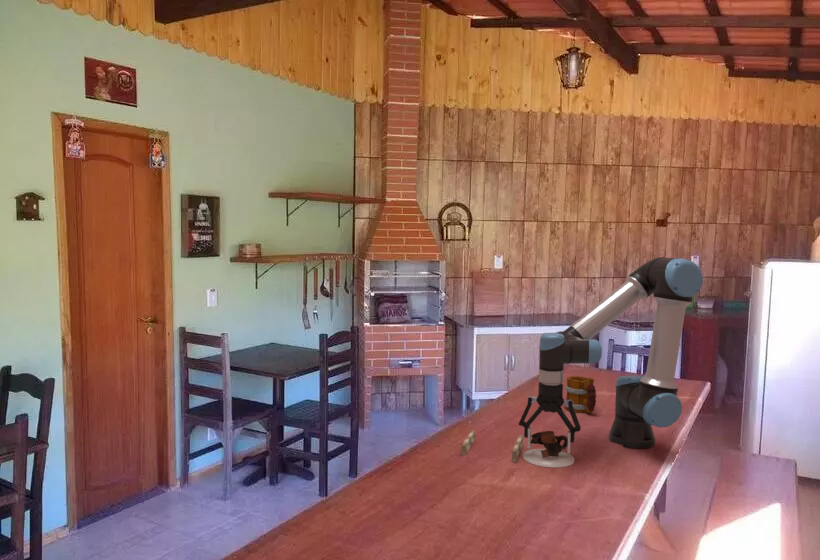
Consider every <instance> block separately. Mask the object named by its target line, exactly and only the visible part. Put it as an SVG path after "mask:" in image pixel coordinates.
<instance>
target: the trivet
mask: <svg viewBox="0 0 820 560" xmlns="http://www.w3.org/2000/svg"><path fill="white" fill-rule="evenodd" d="M545 449H546V448H534V449H528V450H527V451H525V452H523V454H522V458H523V460H524V461H525V462H527V463H529V464H531V465H534V466H537V467H543V468H553V469H558V468H566V467H570V466H571V465H574V463H575V457H573V456H572V455H571V453H570V454H569V453H567V452H565V451H563V450H562V451H561V453H560V452H559V456H554V457H553V456H549V457H542V453H541V450H545Z"/></svg>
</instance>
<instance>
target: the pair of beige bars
mask: <svg viewBox="0 0 820 560" xmlns="http://www.w3.org/2000/svg"><path fill="white" fill-rule="evenodd" d="M523 437H524V436H523V435H518V437H517V439H516V442H515V444H514V447H513V448H512V452H511V455H512V460H511V462H512V463H516V462H517V461H518V458H519V456H520V453H521V452H522V448H523V445H524V444H523V443H524V442H523V441H524V440H523V439H524V438H523ZM475 440H476V430H475V429H474V430H473V429H472V430H471V431H470V433H469V434H468V435H467V437H466V438H465V439H464V441H463V443H462V444H461V456H464V457H465V456H467V453H468V452H469V450H470V449H471V447H472V445H473V444H474V442H475Z"/></svg>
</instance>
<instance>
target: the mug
mask: <svg viewBox="0 0 820 560" xmlns="http://www.w3.org/2000/svg"><path fill="white" fill-rule="evenodd" d="M594 381H595V380H594V378H593V377H584V376H580V375H579V376H578V375H575V376H574V375H573V376H567V377H566V386H565V388H564V389H565V391H566V397H565V398H566V399H565V400H570V399H572V400H573V408H574V411H575V413H576V414H586V413H587V414H590V415H591V414H592V413H593V411H594V409H595V407H596V404H597V391H596V387H595V385H594ZM563 405H564V407H565V408H564V409H565V411H569V408H568V407H566V404H563Z"/></svg>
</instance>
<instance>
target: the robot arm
mask: <svg viewBox="0 0 820 560" xmlns="http://www.w3.org/2000/svg"><path fill="white" fill-rule="evenodd" d="M703 283H704V277H703V272H702V270H701V269H700V267H699V266H698V265H697V263H695V262H693V261H692V260H689V259H685V258H680V257H679V258H678V257H677V258H676V257H673V258H672V257H662V256H661V257H655V258H652V259H650V260H648V261H647V262H645V263H643V264H641V265H640V266H638V267H637V268H636V269H634V271H633V272H631V273H630V274H628V276H626V277H625V282H623V283H622V284H621V285H620V286H619V287H617V288H616V289H615V290H613V291H612V292H611V293H610V294H608V295H607V296H606V297H605V298H604V299H603V300H601V301H600V302H598V303H597V304H596V305H595V306H594V307H592V308H591V309H590V310H589V311H587V312H586V313H585V314H584V315H582V316H581V317H580V318H579V319H577V320H576V321H574V323H572V324H571V325H570V326H568V327H567V328H566V329H564V330H563V331H562V330H560V331H555V332H545V333H543V334H541V335H540V339H539V347H538V350H539V351H538V353H539V354H538V357H539V361H538V362H539V364H538V365H539V366H538V381H539V382H538V388H537V389H538V390H537V391H538V392H537V393H538V394H537V397H536V396H533V395H529V396H528V398H527V404H526V407H525V409H524V411H523V414H522V415H521V418H520V419H519V422H518V425H519V427H520V426H521V427H523V428H524V429H523V430H524V432H523V434H524V436H523V437H524V438H527V447H526V449H527V450H531V446H532V444H531V440H532V437H531V435H532V426H531V424H532V423H533V422H534V421H535V420H536V418H538V416H539V415H541V413H542V411H543V412H544V413H549V412H550V413H553V414H554V413H556V414H558V416H559V417H560V418H561V420H562V422H563V423H564V424H565V426H566V428H567V429H568V430H567V431H568V432H567V438H568V446H567V452H566V453H568V454H570V455H571V445H572V443H573V444H574V443H575V438H576V437H575V433H577V432H580V431H581V428H582V427H581V424H580V420H579V419H578V416H577V413H576V412H575V411H574V408H573V400H572V399H570V400H566V399H564V397H563V394H564V393H563V392H564V391H563V390H564V385H563V382H564V365H565V364H566V365H568V364H569V365H570V364H572V365H573V364H577V365H578V364H588V365H589V364H596V363H598V362H600V361H601V359H602V355H603V354H602V353H603V350H602V345H601V343H600V341H598V339H592V338H594V337H595V336H596V335H597V334H599V333H600V332H601V331H602V330H604V329H605V328H606V327H607V326H609V325H610V324H611V323H612V322H613V321H615V320H617V318H619V317H620V316H622V314H624V313H625V312H626V311H628V310H629V309H630V308H631V307H633V306H634V305H635V304H637V302H639V301H640V300H641V299H642V300H646V299H648V298H649V297H650V296H651V295H653V296H652V297H653V299H654V301H655V302H656V309H655V315H654V321H653V322H654V323H653V327H652V328H653V329H652V333H651V334H652V335H651V340H650V347H649V354H648V361H647V367H646V373H645V375H622V376H618V377H617V378H616V383H615V403H614V404H615V405H614V407H615V408H614V409H615V410H614V419H613V423H612V425H611V427H610V430H609V431H608V432H609V433H608V439H609V441H610V443H614V444H617V445H620V446H622V447H624V448H629V449H630V448H631V449H638V450H640V449H649V448H650V449H651V448H653V447H655V445H656V436H655V433H654V429H653V426H654V427H657V428H667V427H670V426H672V425H673V424H674V423H676V422H677V421H678V420H679V419H680V417H681V415H682V412H683V403H682V401H681V400H680V397H678V389H679V386H678V384H677V383H676V382H675V376H676V372H677V371H676V370H677V364H678V358H679V357H678V356H679V352H680V345H681V340H682V332H683V327H684V322H685V321H684V320H685V314H686V309H687V307H688V306H690V305H691V304H693V297H694V296H695V295H697V293H698V292H700V290H701V289H702V286H703ZM536 402H537V405H538V407H537V408H536V411H535V410H534V413H532V415H531V416H530V417H529V418H528V419H527V421H525V419H526V418H527V416H528V413H529V412H530V409H531V407H532V405H533V404H535V403H536ZM564 404H566V406H565V407H568V408H569V413H570V416H571V419H572V421H573V424H572V422H571V420H570V419H569V418H568V417H567V414H565V412H564V410H563V408H562V406H563V405H564Z"/></svg>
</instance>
